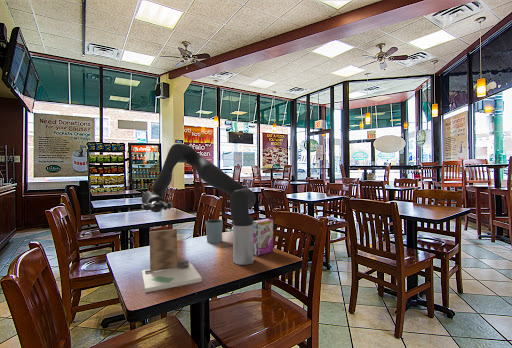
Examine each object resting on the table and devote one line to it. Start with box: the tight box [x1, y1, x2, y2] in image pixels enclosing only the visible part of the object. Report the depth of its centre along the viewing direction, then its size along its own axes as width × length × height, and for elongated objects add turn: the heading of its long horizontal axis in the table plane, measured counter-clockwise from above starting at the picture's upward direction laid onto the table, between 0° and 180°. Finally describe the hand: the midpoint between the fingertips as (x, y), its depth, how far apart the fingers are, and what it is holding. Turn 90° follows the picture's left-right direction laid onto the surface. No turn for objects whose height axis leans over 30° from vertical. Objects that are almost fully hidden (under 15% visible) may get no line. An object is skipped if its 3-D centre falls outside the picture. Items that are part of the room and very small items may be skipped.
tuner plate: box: [141, 262, 203, 294], centre depth 111 cm, size 20×18×2 cm
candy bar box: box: [253, 218, 274, 257], centre depth 141 cm, size 11×5×16 cm, turn 131°
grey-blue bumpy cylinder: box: [205, 219, 224, 245], centre depth 163 cm, size 10×10×12 cm
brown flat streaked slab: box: [145, 228, 190, 273], centre depth 115 cm, size 17×4×16 cm, turn 116°
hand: (159, 208), depth 121 cm, fingers open, 4 cm apart
